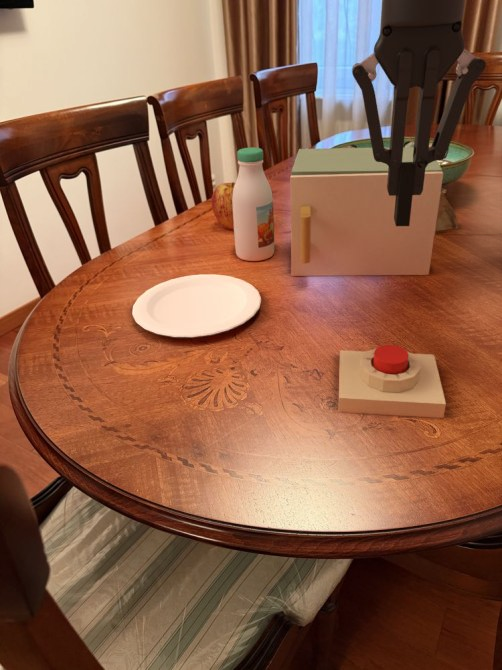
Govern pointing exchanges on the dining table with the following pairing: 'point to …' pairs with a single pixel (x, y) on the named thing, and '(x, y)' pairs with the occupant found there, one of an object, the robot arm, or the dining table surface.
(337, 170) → the cupboard
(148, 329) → the plate
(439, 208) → the rock
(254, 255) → the milk bottle
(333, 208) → the door
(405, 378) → the button base
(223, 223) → the apple
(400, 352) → the button
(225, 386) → the dining table surface
